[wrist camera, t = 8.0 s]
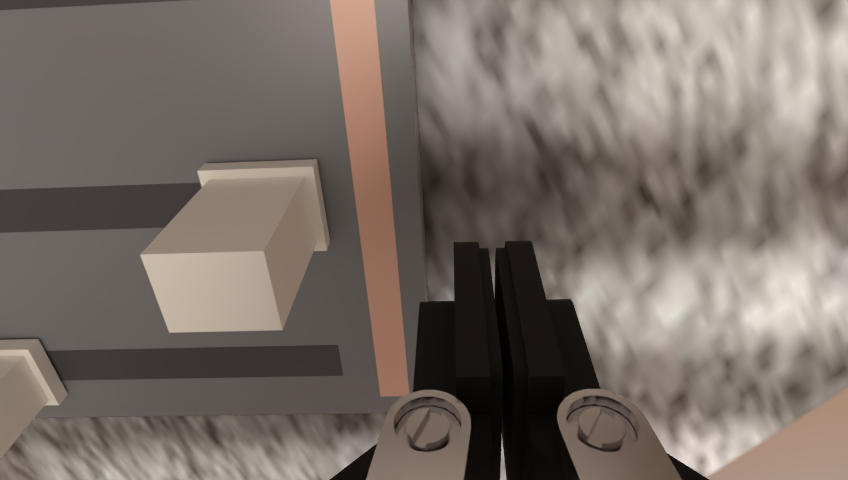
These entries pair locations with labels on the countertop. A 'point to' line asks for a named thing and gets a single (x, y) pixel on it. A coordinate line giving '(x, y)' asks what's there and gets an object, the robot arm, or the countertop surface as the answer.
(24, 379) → the block
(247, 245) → the block
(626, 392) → the countertop surface
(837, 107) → the countertop surface
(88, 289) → the board
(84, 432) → the countertop surface
